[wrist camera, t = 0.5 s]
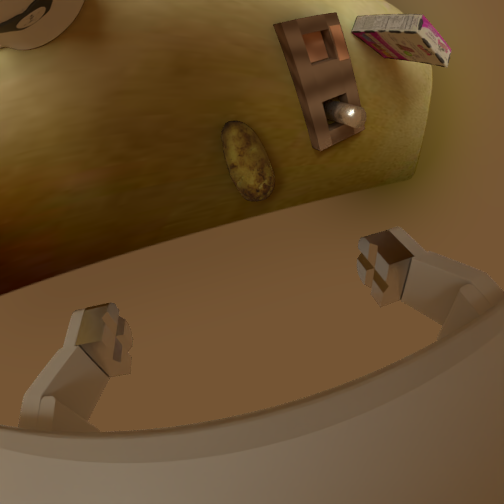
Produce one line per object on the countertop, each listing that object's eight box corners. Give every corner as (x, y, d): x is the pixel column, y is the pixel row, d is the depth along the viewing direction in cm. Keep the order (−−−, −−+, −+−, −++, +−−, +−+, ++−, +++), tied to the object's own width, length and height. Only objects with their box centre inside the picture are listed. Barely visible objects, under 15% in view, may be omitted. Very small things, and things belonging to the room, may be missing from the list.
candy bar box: (389, 41, 44) (452, 49, 32) (384, 58, 46) (447, 69, 34) (356, 14, 38) (424, 13, 26) (349, 32, 40) (418, 34, 28)
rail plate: (273, 24, 35) (281, 22, 33) (327, 13, 37) (337, 12, 35) (312, 147, 52) (321, 151, 50) (356, 126, 53) (365, 129, 51)
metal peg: (319, 103, 47) (347, 110, 41) (334, 97, 47) (364, 103, 42) (324, 121, 50) (352, 131, 44) (339, 115, 50) (367, 124, 44)
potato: (263, 117, 45) (288, 125, 39) (259, 186, 52) (281, 204, 46) (216, 119, 42) (234, 127, 36) (216, 192, 49) (232, 211, 43)
